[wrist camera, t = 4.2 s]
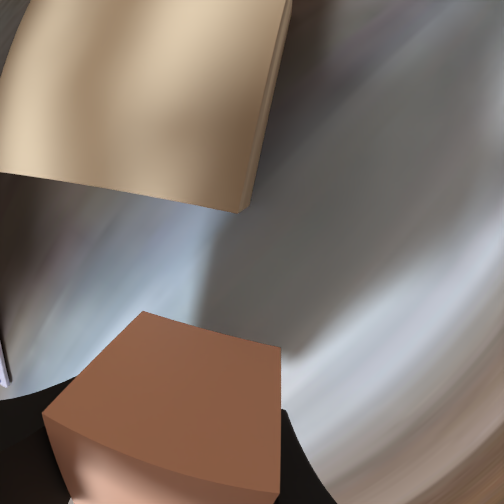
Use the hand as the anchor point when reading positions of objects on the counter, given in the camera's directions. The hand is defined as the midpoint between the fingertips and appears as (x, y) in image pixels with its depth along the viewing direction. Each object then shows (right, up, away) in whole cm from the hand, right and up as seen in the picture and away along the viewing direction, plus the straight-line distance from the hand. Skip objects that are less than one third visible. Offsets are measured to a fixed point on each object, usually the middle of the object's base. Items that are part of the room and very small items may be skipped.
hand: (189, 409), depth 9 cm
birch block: (-3, +13, +3) cm, 13 cm away
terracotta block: (0, 0, +1) cm, 2 cm away
